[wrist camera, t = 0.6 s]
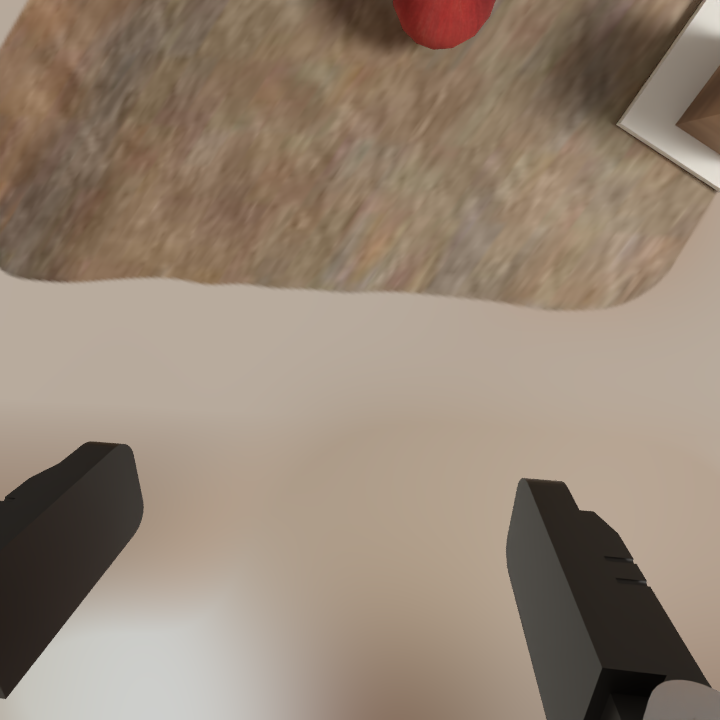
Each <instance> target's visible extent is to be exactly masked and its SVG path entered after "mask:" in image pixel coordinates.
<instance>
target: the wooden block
mask: <svg viewBox="0 0 720 720" xmlns="http://www.w3.org/2000/svg"><path fill="white" fill-rule="evenodd" d="M675 125H676V126H677V127H679V128H680V129H682V130H683V131H685V132H686V133H688V134H689V135H691V136H692V137H694V138H695V139H697V140H698V141H700V142H701V143H703V144H704V145H706V146H707V147H709V148H710V149H712V150H713V151H715V152H716V153H718V154H719V155H720V65H719V67H718V68H717V69H716V71H715V72H714V73H713V75H712V76H711V77H710V79H709V80H708V81H707V83H706V84H705V85H704V87H703V88H702V90H701V91H700V92H699V94H698V95H697V96H696V98H695V99H694V100H693V102H692V103H691V104H690V106H689V107H688V108H687V110H686V111H685V112H684V114H683V115H682V116H681V118H680V119H679V120H678V122H677V123H676V124H675Z"/></svg>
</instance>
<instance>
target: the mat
mask: <svg viewBox="0 0 720 720" xmlns="http://www.w3.org/2000/svg"><path fill="white" fill-rule="evenodd" d="M719 65H720V0H703V1H702V2H701V4H700V5H699V6H698V8H697V9H696V11H695V12H694V14H693V15H692V16H691V18H690V19H689V21H688V22H687V24H686V25H685V27H684V28H683V29H682V31H681V32H680V34H679V35H678V37H677V38H676V39H675V41H674V42H673V44H672V45H671V47H670V48H669V50H668V51H667V52H666V54H665V55H664V57H663V58H662V60H661V61H660V62H659V64H658V65H657V67H656V68H655V70H654V71H653V73H652V74H651V75H650V77H649V78H648V80H647V81H646V83H645V84H644V85H643V87H642V88H641V90H640V91H639V93H638V94H637V96H636V97H635V98H634V100H633V101H632V103H631V104H630V106H629V107H628V108H627V110H626V111H625V113H624V114H623V116H622V117H621V118H620V120H619V121H618V123H617V124H616V125H617V126H619V127H620V128H622V129H624V130H625V131H627V132H628V133H630V134H631V135H633V136H634V137H636V138H637V139H639V140H640V141H642V142H643V143H645V144H646V145H648V146H649V147H651V148H653V149H654V150H656V151H657V152H659V153H660V154H662V155H663V156H665V157H666V158H668V159H669V160H671V161H672V162H674V163H675V164H677V165H679V166H680V167H682V168H683V169H685V170H686V171H688V172H689V173H691V174H692V175H694V176H695V177H697V178H698V179H700V180H701V181H703V182H705V183H706V184H708V185H709V186H711V187H712V188H714V189H715V190H717V191H718V192H720V155H719V154H718V153H716V152H715V151H713V150H712V149H710V148H709V147H707V146H706V145H704V144H703V143H701V142H700V141H698V140H697V139H695V138H694V137H692V136H691V135H689V134H688V133H686V132H685V131H683V130H682V129H680V128H679V127H677V126H676V125H675V124H676V123H677V122H678V120H679V119H680V118H681V116H682V115H683V114H684V112H685V111H686V110H687V108H688V107H689V106H690V104H691V103H692V102H693V100H694V99H695V98H696V96H697V95H698V94H699V92H700V91H701V90H702V88H703V87H704V85H705V84H706V83H707V81H708V80H709V79H710V77H711V76H712V75H713V73H714V72H715V71H716V69H717V68H718V67H719Z"/></svg>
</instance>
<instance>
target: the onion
mask: <svg viewBox="0 0 720 720" xmlns="http://www.w3.org/2000/svg"><path fill="white" fill-rule="evenodd" d="M494 3H495V0H393V6H394V8H395V11H396V13H397V16H398V18H399V20H400V23H401V26H402V28H403V30H404V31H405V32H406V33H407V34H408V35H409V36H410V37H411V38H412V39H413V40H414V41H415V42H416V43H417V44H420V45H423V46H425V47H428V48H431V49H447V48H453V47H455V46H457V45H459V44H460V43H462V42H464V41H466V40H468V39H470V38H471V37H473V36H475V34H476V33H477V32H478V31H479V29H480V28H481V27H482V25H483V24H484V23H485V22H486V20H487V19H488V18H489V16H490V14H491V11H492V9H493V6H494Z"/></svg>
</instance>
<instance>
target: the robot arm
mask: <svg viewBox="0 0 720 720" xmlns="http://www.w3.org/2000/svg"><path fill="white" fill-rule="evenodd" d="M143 508H144V507H143V499H142V494H141V489H140V484H139V479H138V474H137V469H136V464H135V459H134V455H133V451H132V449H131V448H130V447H129V446H128V445H126V444H116V443H103V442H87V443H85V444H83V445H82V446H80V447H79V448H78V449H77V450H75V451H74V452H73V453H72V454H70V455H69V456H68V457H67V458H65V459H64V460H63V461H62V462H60V463H59V464H57V465H55V466H53V467H51V468H49V469H47V470H45V471H43V472H41V473H39V474H37V475H35V476H33V477H31V478H29V479H28V480H26V481H25V482H24V483H23V484H21V485H20V486H19V487H17V488H16V489H15V490H13V491H12V492H11V493H10V494H8V495H7V496H6V497H5V500H4V501H0V698H3V699H6V698H7V697H8V696H9V694H10V693H11V692H12V690H13V689H14V688H15V687H16V685H17V684H18V683H19V681H20V680H21V679H22V678H23V676H24V675H25V674H26V673H27V671H28V670H29V669H30V667H31V666H32V665H33V663H34V662H35V661H36V660H37V658H38V657H39V656H40V655H41V653H42V652H43V651H44V650H45V648H46V647H47V646H48V644H49V643H50V642H51V641H52V639H53V638H54V637H55V635H56V634H57V633H58V632H59V630H60V629H61V628H62V626H63V625H64V624H65V623H66V621H67V620H68V619H69V617H70V616H71V615H72V614H73V612H74V611H75V610H76V609H77V607H78V606H79V605H80V603H81V602H82V601H83V600H84V598H85V597H86V596H87V594H88V593H89V592H90V591H91V589H92V588H93V587H94V585H95V584H96V583H97V582H98V580H99V579H100V578H101V577H102V575H103V574H104V573H105V571H106V570H107V569H108V568H109V566H110V565H111V564H112V562H113V561H114V560H115V559H116V557H117V556H118V555H119V553H120V552H121V551H122V550H123V548H124V547H125V546H126V545H127V543H128V542H129V541H130V539H131V538H132V537H133V536H134V534H135V533H136V531H137V529H138V527H139V525H140V523H141V520H142V515H143ZM506 557H507V567H508V573H509V577H510V581H511V584H512V588H513V592H514V595H515V600H516V604H517V607H518V611H519V615H520V619H521V623H522V627H523V630H524V634H525V638H526V642H527V646H528V650H529V653H530V657H531V661H532V665H533V669H534V673H535V676H536V680H537V684H538V688H539V692H540V696H541V700H542V703H543V707H544V711H545V715H546V719H547V720H720V692H719V691H717V690H715V689H713V688H712V687H711V686H710V684H709V683H708V681H707V680H706V678H705V677H704V675H703V673H702V672H701V670H700V668H699V667H698V665H697V663H696V662H695V660H694V658H693V657H692V655H691V654H690V652H689V650H688V649H687V647H686V645H685V644H684V642H683V640H682V639H681V637H680V635H679V634H678V632H677V630H676V629H675V627H674V625H673V624H672V622H671V620H670V619H669V617H668V615H667V614H666V612H665V611H664V609H663V607H662V605H661V604H660V602H659V601H658V599H657V598H656V596H655V594H654V592H653V591H652V589H651V587H648V586H647V584H646V579H645V577H644V576H643V574H642V572H641V571H640V569H639V567H638V566H637V564H634V563H633V557H632V556H631V554H630V553H629V551H628V549H627V548H626V546H625V544H624V543H623V541H622V539H621V538H620V536H619V534H618V533H617V532H616V531H615V530H614V529H612V528H611V527H610V526H609V525H608V524H607V523H606V522H605V521H604V520H602V519H601V518H600V517H599V516H598V515H597V514H596V513H595V512H592V511H581V510H579V508H578V506H577V505H576V503H575V501H574V499H573V497H572V495H571V493H570V491H569V489H568V487H567V486H566V484H565V483H564V482H562V481H551V480H539V479H527V478H522V479H521V480H520V481H519V483H518V487H517V491H516V497H515V502H514V506H513V511H512V516H511V521H510V526H509V532H508V537H507V546H506Z"/></svg>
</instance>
